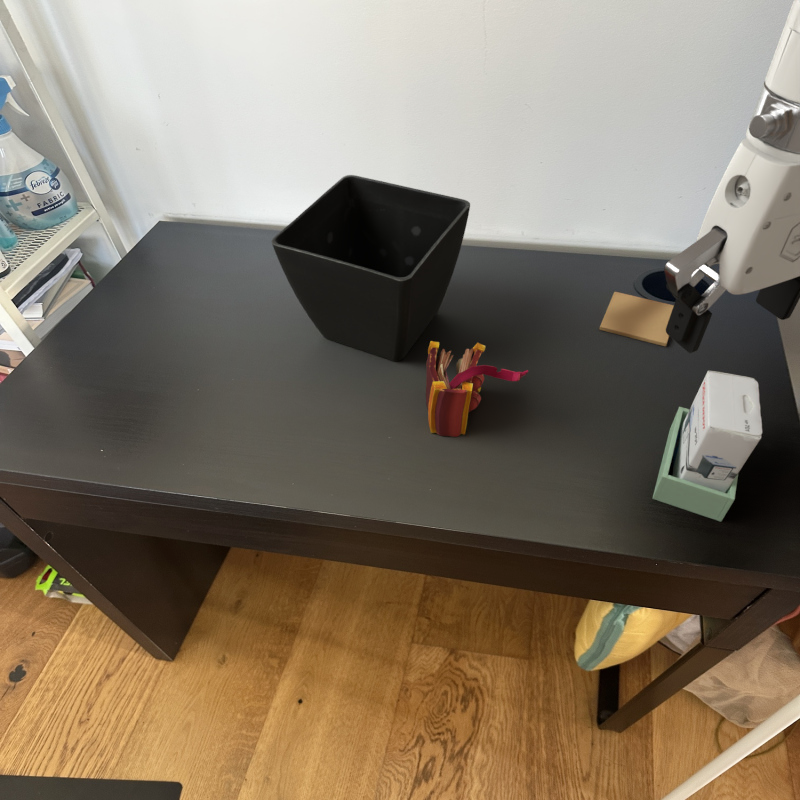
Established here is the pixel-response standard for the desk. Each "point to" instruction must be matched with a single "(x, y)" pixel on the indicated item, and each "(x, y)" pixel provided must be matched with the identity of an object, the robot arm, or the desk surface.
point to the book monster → (457, 388)
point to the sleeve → (689, 484)
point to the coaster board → (637, 318)
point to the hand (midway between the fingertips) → (726, 325)
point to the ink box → (718, 431)
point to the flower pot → (373, 261)
